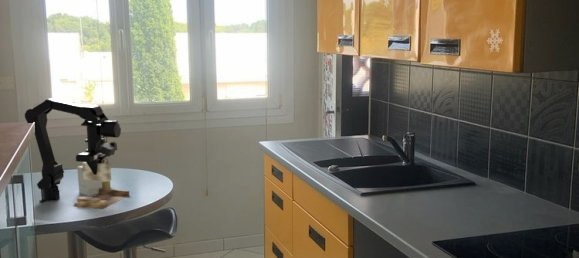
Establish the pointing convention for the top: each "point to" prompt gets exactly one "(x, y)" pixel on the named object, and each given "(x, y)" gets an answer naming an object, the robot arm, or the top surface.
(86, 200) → the offcut stack
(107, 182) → the log
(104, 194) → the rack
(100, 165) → the birch panel
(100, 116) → the robot arm
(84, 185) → the supplement box
